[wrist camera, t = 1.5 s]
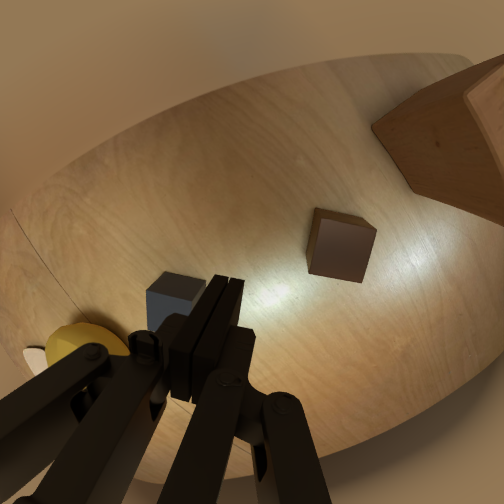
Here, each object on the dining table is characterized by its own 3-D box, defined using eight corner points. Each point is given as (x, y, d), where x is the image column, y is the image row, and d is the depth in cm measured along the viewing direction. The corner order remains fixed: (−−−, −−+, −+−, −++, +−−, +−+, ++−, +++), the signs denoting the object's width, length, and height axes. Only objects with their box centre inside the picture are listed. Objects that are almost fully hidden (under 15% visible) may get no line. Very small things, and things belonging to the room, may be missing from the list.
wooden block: (368, 127, 28) (464, 93, 9) (421, 88, 25) (524, 45, 6) (414, 194, 30) (525, 240, 11) (462, 153, 27) (575, 166, 8)
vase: (171, 365, 43) (123, 452, 25) (124, 395, 49) (83, 459, 31) (94, 288, 40) (16, 351, 22) (62, 334, 46) (7, 387, 28)
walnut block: (315, 207, 32) (321, 217, 26) (362, 217, 32) (377, 229, 26) (305, 255, 34) (308, 274, 28) (351, 263, 34) (362, 283, 28)
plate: (21, 345, 52) (17, 348, 50) (50, 344, 48) (46, 348, 46) (54, 396, 57) (51, 399, 55) (90, 402, 53) (86, 406, 51)
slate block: (165, 271, 37) (145, 290, 32) (206, 280, 37) (192, 301, 31) (164, 308, 39) (147, 329, 34) (203, 317, 39) (190, 341, 33)
